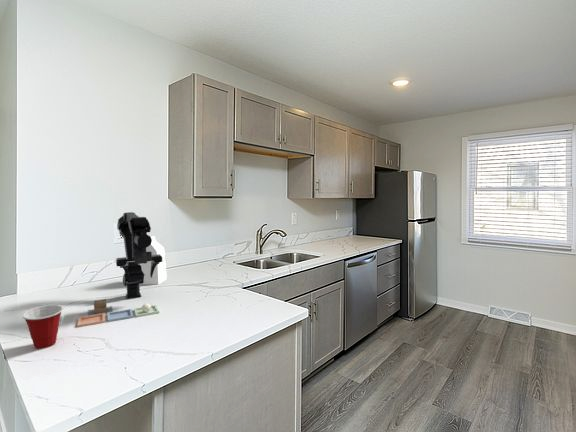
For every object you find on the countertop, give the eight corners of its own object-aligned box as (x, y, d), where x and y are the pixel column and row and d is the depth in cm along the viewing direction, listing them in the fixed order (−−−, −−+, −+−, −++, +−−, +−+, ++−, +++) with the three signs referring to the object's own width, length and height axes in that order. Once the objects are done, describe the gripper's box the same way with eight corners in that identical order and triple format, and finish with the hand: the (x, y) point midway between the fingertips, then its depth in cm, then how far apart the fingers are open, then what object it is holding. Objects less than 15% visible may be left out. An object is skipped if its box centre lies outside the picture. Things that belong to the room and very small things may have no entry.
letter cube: (94, 310, 138) (94, 300, 138) (106, 308, 140) (106, 298, 140) (94, 314, 134) (93, 303, 134) (106, 312, 137) (106, 301, 136)
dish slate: (107, 315, 134) (107, 312, 134) (131, 311, 138) (131, 308, 138) (107, 323, 126) (107, 320, 126) (133, 318, 131) (133, 315, 131)
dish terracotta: (78, 320, 129) (78, 317, 129) (104, 315, 133) (104, 313, 133) (77, 328, 121) (77, 325, 121) (104, 323, 126) (104, 320, 126)
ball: (141, 311, 138) (141, 303, 138) (150, 309, 140) (150, 301, 139) (142, 313, 135) (142, 305, 135) (151, 312, 137) (151, 304, 136)
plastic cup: (20, 356, 101) (17, 318, 100) (28, 341, 110) (26, 307, 109) (62, 348, 106) (60, 312, 105) (67, 335, 115) (65, 302, 114)
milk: (158, 284, 180) (157, 238, 178) (138, 284, 180) (136, 238, 178) (166, 278, 192) (165, 235, 190) (147, 278, 192) (146, 235, 190)
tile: (88, 310, 139) (88, 310, 139) (112, 307, 144) (112, 306, 144) (87, 317, 131) (87, 316, 131) (112, 313, 136) (112, 312, 136)
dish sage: (134, 311, 139) (133, 308, 139) (156, 307, 143) (156, 304, 143) (135, 318, 131) (135, 315, 131) (159, 314, 136) (159, 311, 136)
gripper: (116, 249, 134) (117, 286, 135) (164, 245, 143) (164, 280, 144) (115, 245, 143) (116, 280, 144) (160, 242, 153) (161, 274, 154)
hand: (140, 278), depth 146 cm, fingers open, 9 cm apart
